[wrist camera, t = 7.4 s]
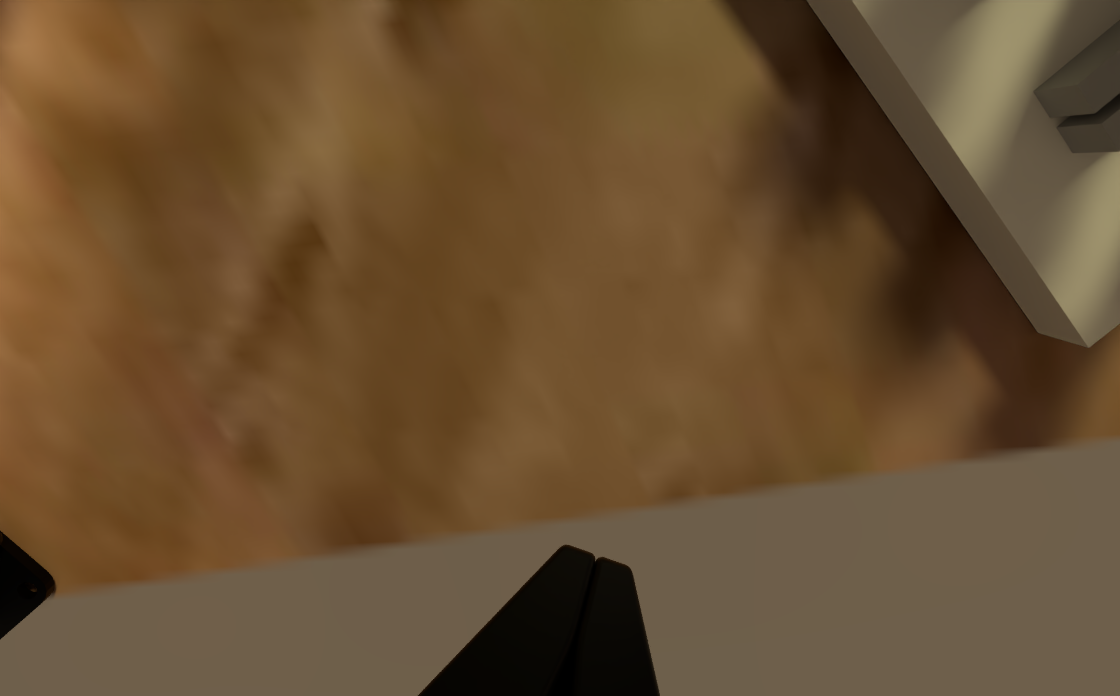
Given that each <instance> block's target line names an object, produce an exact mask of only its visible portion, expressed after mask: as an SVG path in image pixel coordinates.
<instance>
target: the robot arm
mask: <svg viewBox="0 0 1120 696" xmlns="http://www.w3.org/2000/svg"><path fill="white" fill-rule="evenodd" d="M26 582H29V583H31V584H33V585H34V586H35V587H36V589H37V592H33V591H31V590H29V589H28V588H27V586H26ZM54 585H55V583H54V580H53V577H52V576H51V575H50V574H49V572H48V571H47V570H45V569H44V568H43V567H42V566H41V565H40V564H38V563H37V562H36V561H35V560H34V559H33V558H31V557H30V556H29V555H28V554H27V553H26V552H24V551H23V550H22V549H21V548H20V547H19V546H17V545H16V544H15V543H14V542H13V541H12V540H10V539H9V538H8V537H7V536H6V535H5V534H3V533H2V532H1V531H0V639H1V638H2V637H4V636H5V635H6V634H7V633H8V632H9V631H10V630H11V629H13V628H14V627H15V626H16V625H17V624H18V623H20V621H22V620H23V619H24V618H25V617H26V616H28V615H29V614H30V613H31V612H32V611H33V610H34V609H36V608H37V607H38V606H39V605H40V604H41V603H42V602H43V601H45V600H46V599H47V598H48V597H49V596H50V594H51V593H52V592H53V590H54ZM418 696H660V693H659V689H658V684H657V680H656V676H655V671H654V667H653V662H652V658H651V653H650V649H649V644H648V640H647V636H646V631H645V626H644V622H643V617H642V613H641V608H640V604H639V600H638V595H637V591H636V586H635V582H634V577H633V573H632V571H631V569H630V568H629V567H628V566H627V565H625V564H622V563H619V562H616V561H613V560H610V559H607V558H605V557H600V558H598V559H597V560H596V561H595V556H594V555H593V554H592V553H590V552H587V551H585V550H582V549H579V548H576V547H573V546H570V545H563V546H562V547H560V548H559V549H558V550H557V551H556V552H555V553H554V554H553V555H552V556H551V557H550V558H549V559H548V560H547V561H546V562H545V564H543V566H542V567H541V568H540V569H539V570H538V571H537V572H536V573H535V574H534V575H533V576H532V577H531V578H530V579H529V580H528V581H527V582H526V583H525V584H524V585H523V586H522V587H521V588H520V590H519V591H518V592H517V593H516V594H515V595H514V596H513V597H512V598H511V599H510V600H509V601H508V602H507V603H506V604H505V605H504V606H503V607H502V608H501V610H499V612H497V614H496V615H495V616H494V617H493V618H492V619H491V620H490V621H489V622H488V623H487V624H486V625H485V626H484V627H483V628H482V629H481V630H480V631H479V632H478V633H477V634H476V635H475V636H474V638H473V639H472V640H471V641H470V642H469V643H468V644H467V645H466V646H465V647H464V648H463V649H462V650H461V651H460V652H459V653H458V654H457V655H456V656H455V657H454V658H453V660H452V661H450V663H449V664H448V665H447V666H446V667H445V668H444V669H443V670H442V671H441V672H440V673H439V674H438V675H437V676H436V677H435V678H434V679H433V680H432V681H431V682H430V683H429V684H428V686H427V687H426V688H425V689H424V690H423V691H422V692H421V693H420V694H419V695H418Z"/></svg>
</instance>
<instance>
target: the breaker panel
mask: <svg viewBox="0 0 1120 696" xmlns="http://www.w3.org/2000/svg"><path fill="white" fill-rule="evenodd" d="M806 1H807V2H808V3H809V5H810V6H811V8H812V9H813V11H814V12H815V14H816V15H817V16H818V18H819V19H820V21H821V22H822V24H823V25H824V26H825V28H826V29H827V31H828V32H829V34H830V35H831V37H832V38H833V39H834V41H835V42H836V44H837V45H838V47H839V48H840V49H841V51H842V52H843V54H844V55H845V57H846V58H847V59H848V61H849V62H850V64H851V65H852V67H853V68H854V70H855V71H856V72H857V74H858V75H859V77H860V78H861V80H862V81H863V82H864V84H865V85H866V87H867V88H868V90H869V91H870V93H871V94H872V95H873V97H874V98H875V100H876V101H877V103H878V104H879V105H880V107H881V108H882V110H883V111H884V113H885V114H886V115H887V117H888V118H889V120H890V121H891V123H892V124H893V126H894V127H895V128H896V130H897V131H898V133H899V134H900V136H901V137H902V138H903V140H904V141H905V143H906V144H907V146H908V147H909V148H910V150H911V151H912V153H913V154H914V156H915V157H916V159H917V160H918V161H919V163H920V164H921V166H922V167H923V169H924V170H925V171H926V173H927V174H928V176H929V177H930V179H931V180H932V182H933V183H934V184H935V186H936V187H937V189H938V190H939V192H940V193H941V194H942V196H943V197H944V199H945V200H946V202H947V203H948V204H949V206H950V207H951V209H952V210H953V212H954V213H955V215H956V216H957V217H958V219H959V220H960V222H961V223H962V225H963V226H964V227H965V229H966V230H967V232H968V233H969V235H970V236H971V237H972V239H973V240H974V242H975V243H976V245H977V246H978V248H979V249H980V250H981V252H982V253H983V255H984V256H985V258H986V259H987V260H988V262H989V263H990V265H991V266H992V268H993V269H994V271H995V272H996V273H997V275H998V276H999V278H1000V279H1001V281H1002V282H1003V283H1004V285H1005V286H1006V288H1007V289H1008V291H1009V292H1010V293H1011V295H1012V296H1013V298H1014V299H1015V301H1016V302H1017V304H1018V305H1019V306H1020V308H1021V309H1022V311H1023V312H1024V314H1025V315H1026V316H1027V318H1028V319H1029V321H1030V322H1031V324H1032V325H1033V326H1034V328H1035V329H1036V331H1037V332H1038V333H1040V334H1043V335H1047V336H1050V337H1053V338H1057V339H1060V340H1063V341H1067V342H1070V343H1074V344H1077V345H1080V346H1084V347H1087V348H1089V347H1091V346H1092V345H1093V344H1095V343H1096V342H1097V341H1098V340H1100V339H1101V338H1102V337H1103V336H1105V335H1106V334H1107V333H1108V332H1110V331H1111V330H1112V329H1114V328H1115V327H1116V326H1117V325H1119V324H1120V0H806Z"/></svg>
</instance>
